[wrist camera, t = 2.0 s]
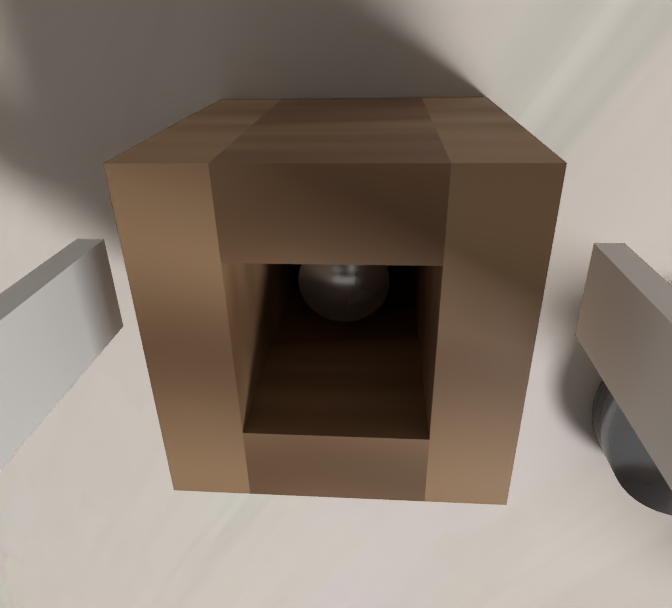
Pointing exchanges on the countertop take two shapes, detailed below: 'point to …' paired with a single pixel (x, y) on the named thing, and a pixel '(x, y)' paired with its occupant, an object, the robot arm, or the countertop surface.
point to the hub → (628, 454)
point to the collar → (328, 335)
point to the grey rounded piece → (344, 289)
